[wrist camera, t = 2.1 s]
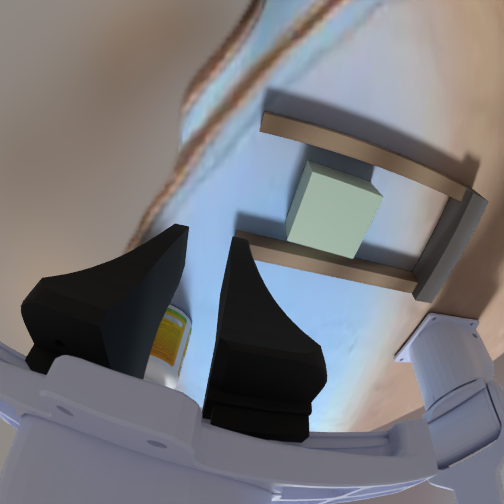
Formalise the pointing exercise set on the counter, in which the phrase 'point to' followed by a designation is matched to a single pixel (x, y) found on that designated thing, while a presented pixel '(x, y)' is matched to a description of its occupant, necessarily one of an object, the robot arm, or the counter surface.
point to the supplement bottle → (169, 348)
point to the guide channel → (318, 261)
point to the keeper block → (331, 210)
